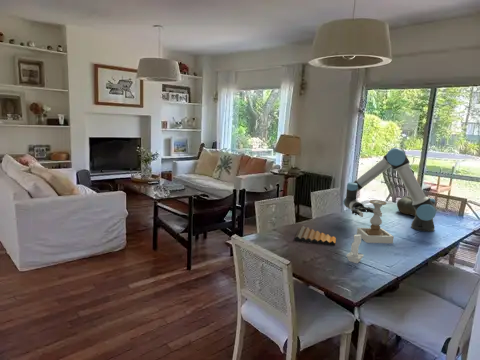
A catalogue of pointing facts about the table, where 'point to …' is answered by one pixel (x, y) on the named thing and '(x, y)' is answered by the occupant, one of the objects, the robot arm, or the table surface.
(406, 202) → the gourd
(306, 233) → the pan flute
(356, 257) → the figurine
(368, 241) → the rimmed tray
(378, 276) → the table surface
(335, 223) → the table surface
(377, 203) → the candle holder
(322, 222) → the table surface
